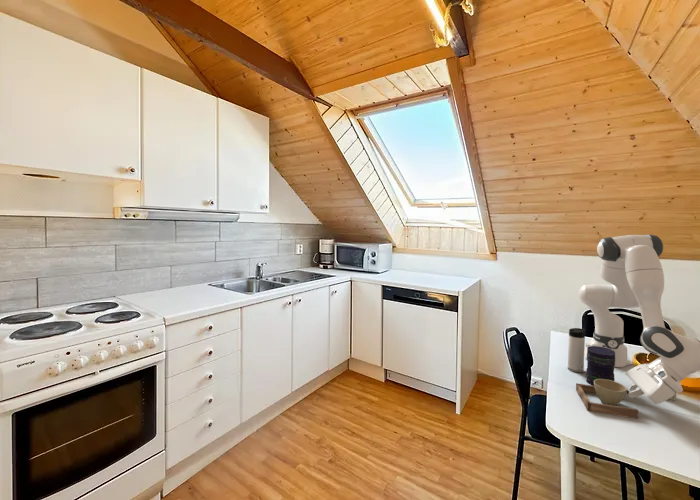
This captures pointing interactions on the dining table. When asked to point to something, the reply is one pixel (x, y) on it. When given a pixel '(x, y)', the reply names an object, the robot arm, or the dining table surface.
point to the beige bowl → (609, 391)
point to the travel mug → (576, 350)
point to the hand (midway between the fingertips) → (628, 394)
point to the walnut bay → (603, 407)
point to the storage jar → (600, 364)
